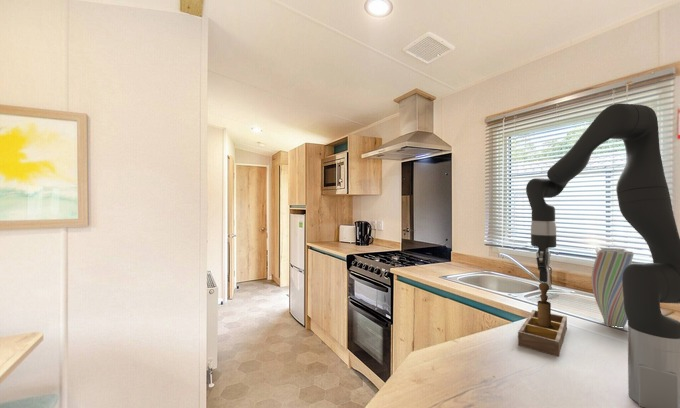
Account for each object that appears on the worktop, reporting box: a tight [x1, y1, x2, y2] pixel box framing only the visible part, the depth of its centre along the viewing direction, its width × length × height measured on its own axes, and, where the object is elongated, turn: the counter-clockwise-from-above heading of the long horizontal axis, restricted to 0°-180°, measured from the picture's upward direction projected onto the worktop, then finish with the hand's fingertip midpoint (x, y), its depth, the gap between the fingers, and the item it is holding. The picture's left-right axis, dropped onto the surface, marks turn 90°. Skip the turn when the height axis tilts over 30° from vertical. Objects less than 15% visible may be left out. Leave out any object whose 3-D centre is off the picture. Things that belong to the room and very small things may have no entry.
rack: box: [517, 309, 568, 357], centre depth 105 cm, size 28×11×4 cm, turn 138°
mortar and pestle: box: [533, 282, 556, 330], centre depth 105 cm, size 7×6×18 cm
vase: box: [591, 246, 635, 329], centre depth 114 cm, size 14×14×30 cm
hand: (543, 281), depth 105 cm, fingers closed
